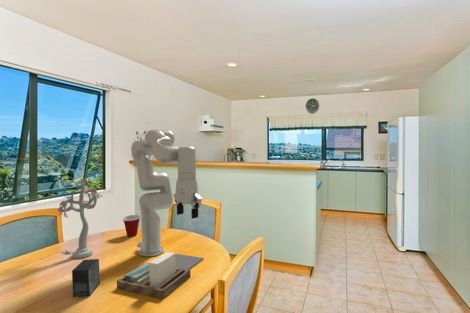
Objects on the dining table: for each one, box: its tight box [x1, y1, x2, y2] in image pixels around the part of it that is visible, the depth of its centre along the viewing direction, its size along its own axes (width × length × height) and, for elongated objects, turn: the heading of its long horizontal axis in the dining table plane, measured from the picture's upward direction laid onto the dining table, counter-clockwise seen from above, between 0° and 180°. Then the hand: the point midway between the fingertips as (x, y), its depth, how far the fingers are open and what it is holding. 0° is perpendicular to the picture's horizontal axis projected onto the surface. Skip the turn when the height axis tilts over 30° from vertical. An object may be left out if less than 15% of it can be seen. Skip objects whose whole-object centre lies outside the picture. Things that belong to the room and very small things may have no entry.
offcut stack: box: [124, 261, 150, 284], centre depth 121 cm, size 7×14×4 cm, turn 158°
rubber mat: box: [175, 253, 204, 271], centre depth 138 cm, size 16×16×1 cm
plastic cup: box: [121, 214, 141, 238], centre depth 181 cm, size 11×11×12 cm
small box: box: [71, 258, 101, 298], centre depth 112 cm, size 11×6×10 cm, turn 5°
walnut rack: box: [116, 268, 191, 300], centre depth 119 cm, size 22×19×3 cm
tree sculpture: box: [57, 177, 103, 259], centre depth 149 cm, size 28×24×40 cm
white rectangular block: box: [148, 251, 176, 288], centre depth 117 cm, size 4×12×11 cm, turn 158°
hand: (187, 216), depth 122 cm, fingers open, 9 cm apart
